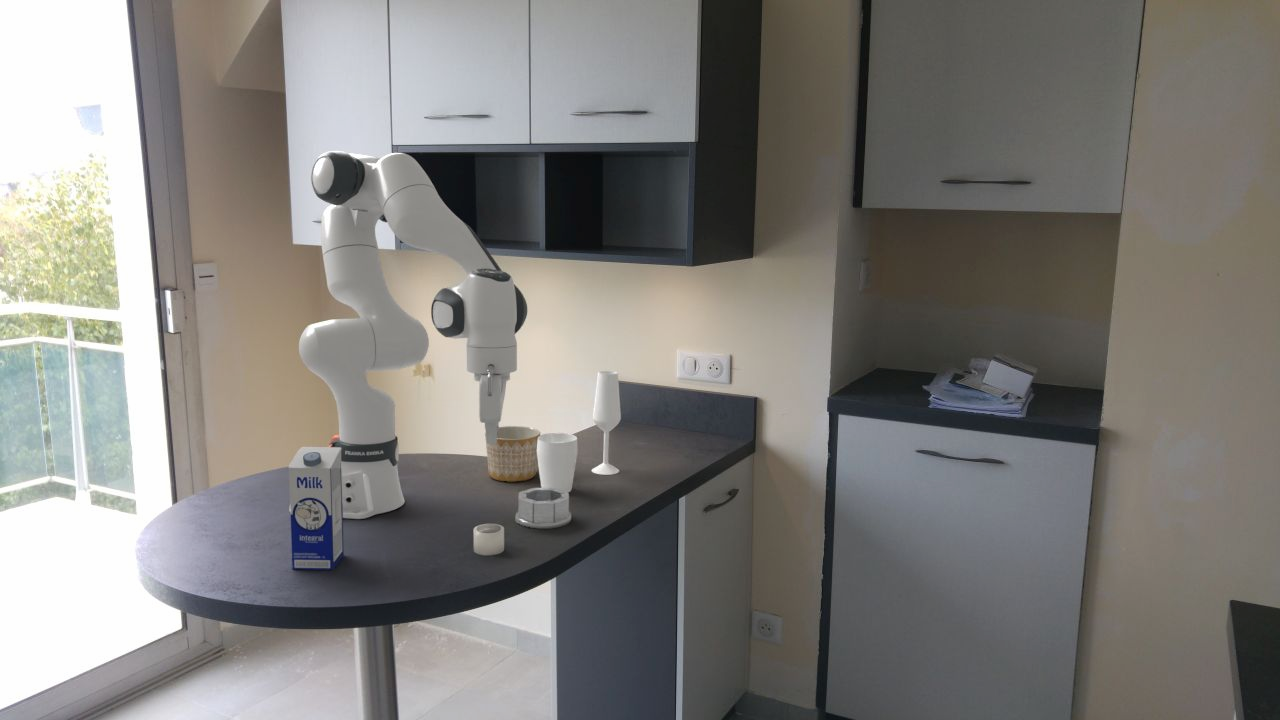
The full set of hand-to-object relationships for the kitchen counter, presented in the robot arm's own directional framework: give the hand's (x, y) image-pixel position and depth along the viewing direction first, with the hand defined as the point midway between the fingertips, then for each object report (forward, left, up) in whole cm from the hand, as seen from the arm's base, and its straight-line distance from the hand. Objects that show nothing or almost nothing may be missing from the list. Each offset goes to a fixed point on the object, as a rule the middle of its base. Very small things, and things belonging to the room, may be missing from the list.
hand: (492, 436), depth 163 cm
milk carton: (-30, -6, -21) cm, 37 cm away
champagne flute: (+24, +49, -21) cm, 59 cm away
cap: (-1, -1, -21) cm, 21 cm away
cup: (+12, +34, -21) cm, 42 cm away
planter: (+2, +45, -21) cm, 50 cm away
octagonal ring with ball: (+9, +15, -21) cm, 27 cm away
